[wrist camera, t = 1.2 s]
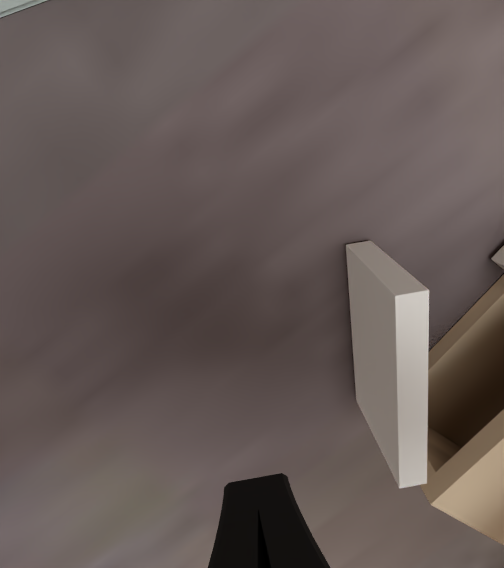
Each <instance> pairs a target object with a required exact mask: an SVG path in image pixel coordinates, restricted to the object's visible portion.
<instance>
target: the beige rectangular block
mask: <svg viewBox="0 0 504 568" xmlns="http://www.w3.org/2000/svg"><path fill="white" fill-rule="evenodd" d="M491 259H492V260H493V261H494V262H495V263H496V264H497V265H499V266H500V267H501V268H502V269H503V270H504V246H503V247H502V248H501V249H500V250H499V251H498V252H497V253H496V254H495V255H494V256H493V257H492V258H491ZM420 486H421V488H422V490H423V492H424V494H425V496H426V497H427V499H428V501H429V503H430V505H432V506H434V507H436V508H438V509H439V510H441V511H443V512H445V513H447V514H448V515H450V516H452V517H454V518H456V519H457V520H459V521H461V522H463V523H465V524H466V525H468V526H470V527H472V528H474V529H475V530H477V531H479V532H481V533H483V534H484V535H486V536H488V537H490V538H492V539H493V540H495V541H497V542H499V543H501V544H502V545H504V274H503V276H502V277H501V278H500V279H499V280H498V281H497V282H496V283H495V284H494V285H493V286H492V287H491V288H490V289H489V290H488V291H487V292H486V293H485V294H484V295H483V296H482V297H481V298H480V299H479V300H478V301H477V302H476V303H475V305H474V306H473V307H472V308H471V309H470V310H469V311H468V312H467V313H466V314H465V315H464V316H463V317H462V318H461V319H460V320H459V321H458V322H457V323H456V324H455V325H454V326H453V327H452V328H451V329H450V330H449V331H448V333H447V334H446V335H445V336H444V337H443V338H442V339H441V340H440V341H439V342H438V343H437V344H436V345H435V346H434V347H433V348H432V349H431V350H430V351H429V352H428V433H427V484H421V485H420Z"/></svg>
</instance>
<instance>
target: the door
mask: <svg viewBox="0 0 504 568" xmlns="http://www.w3.org/2000/svg"><path fill="white" fill-rule="evenodd" d="M346 255H347V270H348V285H349V300H350V315H351V329H352V344H353V359H354V374H355V389H356V401H357V403H358V405H359V407H360V409H361V411H362V413H363V415H364V417H365V419H366V421H367V423H368V425H369V428H370V430H371V432H372V434H373V436H374V438H375V440H376V442H377V444H378V446H379V448H380V450H381V452H382V454H383V456H384V458H385V460H386V462H387V464H388V466H389V468H390V470H391V472H392V474H393V476H394V478H395V480H396V483H397V485H398V487H399V488H405V487H410V486H416V485H421V484H427V433H428V345H429V289H427V288H426V287H425V286H424V285H423V284H421V283H420V282H419V281H418V280H417V279H416V278H414V277H413V276H412V275H411V274H410V273H408V272H407V271H406V270H405V269H404V268H403V267H401V266H400V265H399V264H398V263H397V262H396V261H394V260H393V259H392V258H391V257H390V256H388V255H387V254H386V253H385V252H384V251H383V250H381V249H380V248H379V247H378V246H377V245H375V244H374V243H373V242H372V241H371V240H370V241H365V242H359V243H353V244H347V245H346Z"/></svg>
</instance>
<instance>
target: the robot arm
mask: <svg viewBox="0 0 504 568" xmlns="http://www.w3.org/2000/svg"><path fill="white" fill-rule="evenodd" d="M208 568H330V566H329V564H328V563H327V561H326V559H325V557H324V556H323V554H322V552H321V550H320V548H319V547H318V545H317V543H316V541H315V540H314V538H313V536H312V534H311V532H310V530H309V528H308V526H307V524H306V522H305V520H304V518H303V516H302V514H301V512H300V509H299V507H298V505H297V503H296V500H295V498H294V495H293V493H292V490H291V487H290V484H289V481H288V477H287V476H286V475H284V474H282V473H280V474H275V475H269V476H264V477H258V478H253V479H247V480H242V481H236V482H231V483H228V484H227V485H226V486H225V488H224V497H223V504H222V510H221V516H220V521H219V526H218V530H217V534H216V539H215V543H214V547H213V551H212V554H211V558H210V562H209V565H208Z"/></svg>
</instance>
